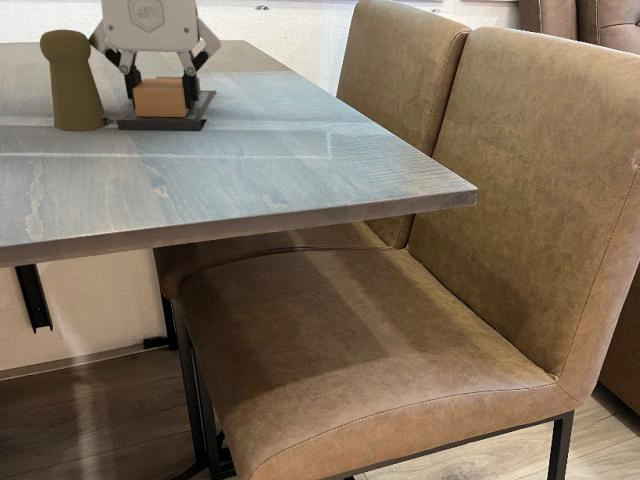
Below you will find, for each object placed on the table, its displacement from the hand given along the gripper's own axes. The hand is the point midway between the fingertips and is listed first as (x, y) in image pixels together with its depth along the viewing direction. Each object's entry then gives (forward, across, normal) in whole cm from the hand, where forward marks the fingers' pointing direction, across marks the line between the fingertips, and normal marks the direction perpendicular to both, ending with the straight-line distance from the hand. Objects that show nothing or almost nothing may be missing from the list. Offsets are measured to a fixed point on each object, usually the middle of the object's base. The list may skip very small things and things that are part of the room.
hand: (165, 104), depth 79 cm
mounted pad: (+2, 0, +7) cm, 7 cm away
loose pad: (+1, 0, 0) cm, 1 cm away
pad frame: (+2, 0, +4) cm, 4 cm away
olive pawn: (+3, -10, -2) cm, 10 cm away
